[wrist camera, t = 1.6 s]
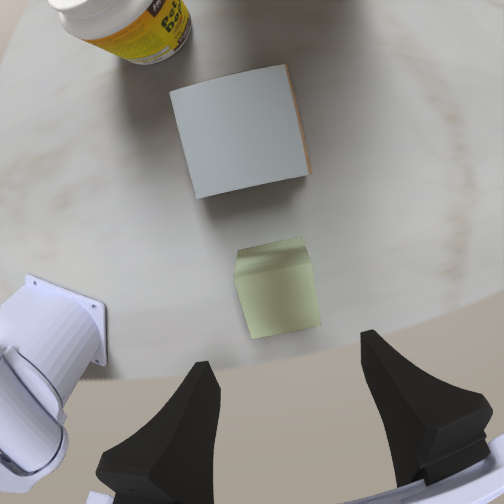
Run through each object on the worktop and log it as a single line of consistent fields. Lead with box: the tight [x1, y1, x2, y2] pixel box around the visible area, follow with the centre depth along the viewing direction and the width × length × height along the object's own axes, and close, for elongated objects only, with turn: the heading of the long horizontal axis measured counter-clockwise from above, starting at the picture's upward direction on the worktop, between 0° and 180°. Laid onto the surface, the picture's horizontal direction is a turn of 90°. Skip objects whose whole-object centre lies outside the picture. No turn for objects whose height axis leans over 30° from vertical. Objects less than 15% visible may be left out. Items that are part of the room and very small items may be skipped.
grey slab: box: [169, 65, 309, 199], centre depth 15 cm, size 6×6×2 cm
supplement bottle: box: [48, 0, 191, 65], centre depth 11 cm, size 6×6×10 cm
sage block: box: [233, 237, 321, 339], centre depth 20 cm, size 5×5×4 cm
